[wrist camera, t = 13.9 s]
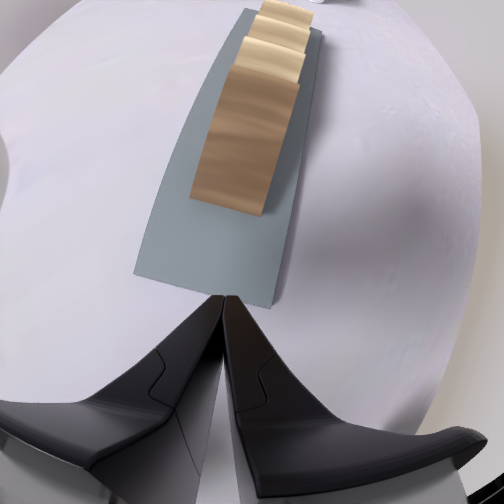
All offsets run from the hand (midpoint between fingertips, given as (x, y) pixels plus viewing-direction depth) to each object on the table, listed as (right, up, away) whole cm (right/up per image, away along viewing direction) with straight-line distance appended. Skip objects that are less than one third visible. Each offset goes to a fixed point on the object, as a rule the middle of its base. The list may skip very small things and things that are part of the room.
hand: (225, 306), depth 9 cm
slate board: (+1, +15, +14) cm, 20 cm away
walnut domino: (-1, +5, +11) cm, 12 cm away
